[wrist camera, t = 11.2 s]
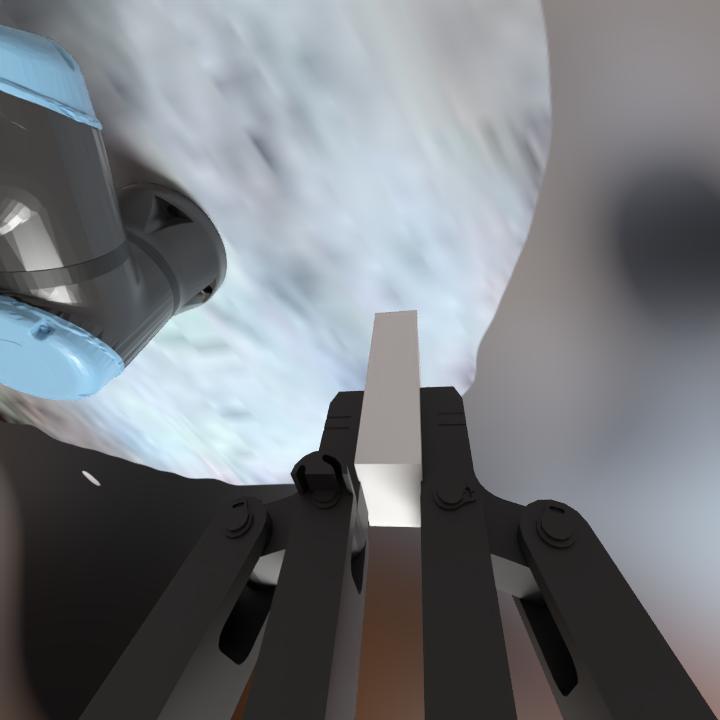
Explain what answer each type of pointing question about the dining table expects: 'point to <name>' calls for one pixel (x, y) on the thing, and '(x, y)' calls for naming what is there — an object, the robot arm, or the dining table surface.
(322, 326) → the dining table surface
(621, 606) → the robot arm
